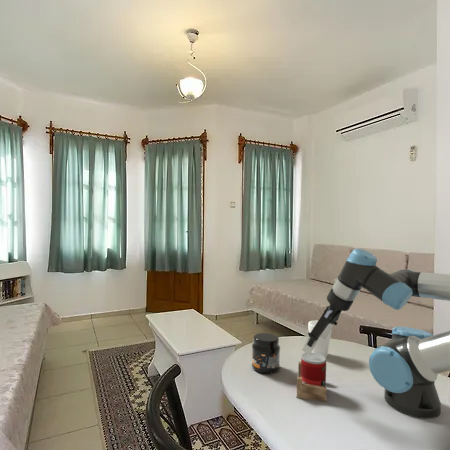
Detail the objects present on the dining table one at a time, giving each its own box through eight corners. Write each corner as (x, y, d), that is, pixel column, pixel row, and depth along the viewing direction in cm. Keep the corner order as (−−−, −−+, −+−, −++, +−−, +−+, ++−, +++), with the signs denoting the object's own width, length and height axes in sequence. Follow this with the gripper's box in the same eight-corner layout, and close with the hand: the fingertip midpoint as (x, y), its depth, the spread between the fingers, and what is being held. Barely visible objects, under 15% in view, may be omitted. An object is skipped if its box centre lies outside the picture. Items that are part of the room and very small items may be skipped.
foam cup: (303, 351, 140) (304, 321, 139) (322, 349, 142) (322, 319, 142) (316, 361, 131) (316, 328, 130) (335, 358, 133) (336, 326, 133)
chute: (324, 381, 114) (325, 364, 114) (326, 401, 101) (326, 382, 101) (298, 378, 116) (298, 361, 116) (296, 397, 104) (297, 378, 104)
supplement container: (248, 363, 128) (248, 333, 127) (273, 361, 130) (273, 331, 130) (256, 376, 117) (257, 343, 117) (284, 373, 120) (284, 341, 120)
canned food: (326, 397, 104) (327, 363, 104) (301, 394, 106) (301, 360, 105) (324, 385, 112) (325, 353, 111) (300, 382, 113) (301, 351, 113)
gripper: (344, 279, 115) (319, 325, 122) (317, 297, 95) (288, 351, 103) (364, 291, 111) (336, 338, 119) (340, 313, 92) (308, 367, 99)
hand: (314, 344), depth 111 cm, fingers open, 13 cm apart
